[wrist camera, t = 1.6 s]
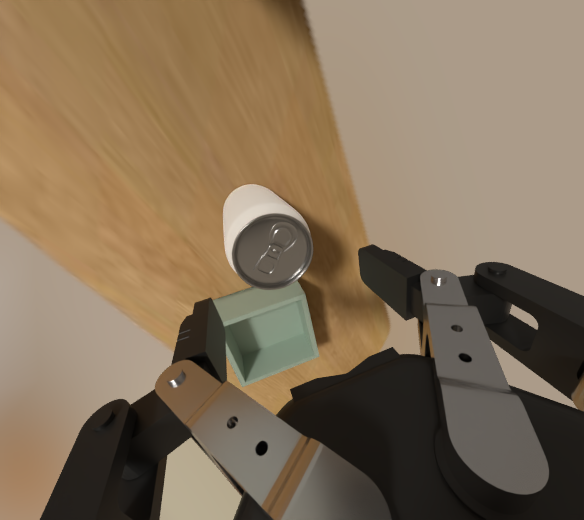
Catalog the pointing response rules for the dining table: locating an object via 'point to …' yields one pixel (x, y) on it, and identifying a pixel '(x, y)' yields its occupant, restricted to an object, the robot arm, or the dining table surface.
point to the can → (265, 238)
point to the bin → (266, 331)
